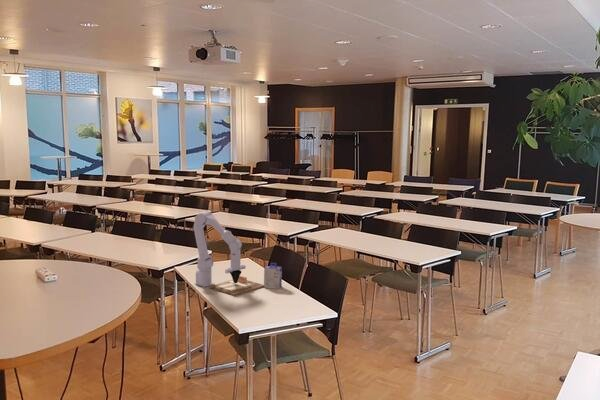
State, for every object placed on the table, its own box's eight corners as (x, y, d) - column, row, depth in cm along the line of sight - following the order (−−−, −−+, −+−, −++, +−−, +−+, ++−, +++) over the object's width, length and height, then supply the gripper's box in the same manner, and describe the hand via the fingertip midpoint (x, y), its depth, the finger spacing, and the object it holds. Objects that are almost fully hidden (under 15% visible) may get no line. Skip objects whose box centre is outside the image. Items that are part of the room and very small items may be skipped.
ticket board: (209, 288, 292) (209, 284, 292) (238, 279, 311) (238, 275, 310) (235, 296, 278) (235, 292, 278) (264, 286, 297) (264, 282, 297)
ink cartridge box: (282, 286, 298) (282, 262, 297) (279, 289, 293) (280, 265, 291) (266, 285, 300) (266, 261, 298) (263, 287, 295) (263, 264, 293)
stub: (228, 283, 298) (228, 276, 298) (235, 281, 303) (235, 274, 302) (244, 288, 289) (244, 280, 289) (251, 286, 294) (251, 278, 293)
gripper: (231, 263, 283) (231, 286, 285) (249, 259, 294) (249, 281, 296) (222, 261, 288) (222, 284, 289) (240, 257, 299) (240, 279, 301)
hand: (235, 282), depth 293 cm, fingers closed
